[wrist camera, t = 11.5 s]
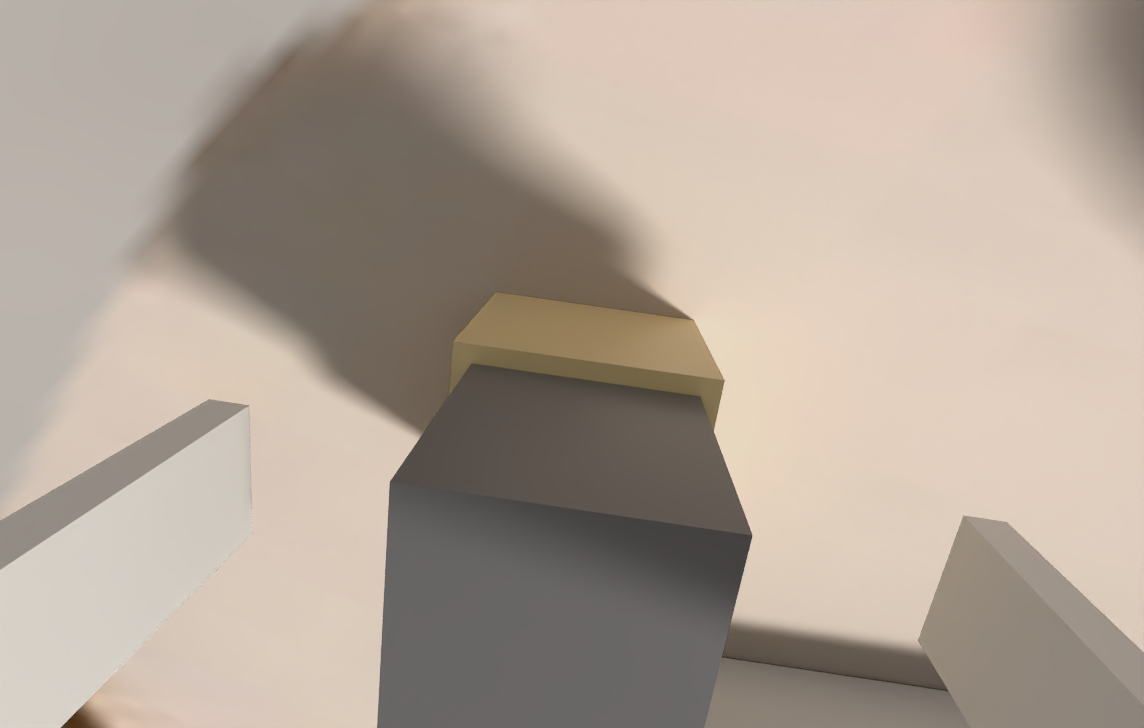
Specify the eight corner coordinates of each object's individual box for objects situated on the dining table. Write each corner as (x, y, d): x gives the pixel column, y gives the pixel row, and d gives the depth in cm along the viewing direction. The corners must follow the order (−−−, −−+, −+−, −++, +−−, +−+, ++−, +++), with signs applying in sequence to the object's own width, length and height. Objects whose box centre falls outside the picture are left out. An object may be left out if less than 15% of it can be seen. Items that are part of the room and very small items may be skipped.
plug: (478, 470, 19) (348, 774, 10) (495, 291, 18) (359, 448, 8) (659, 496, 19) (705, 829, 10) (694, 320, 18) (792, 512, 8)
